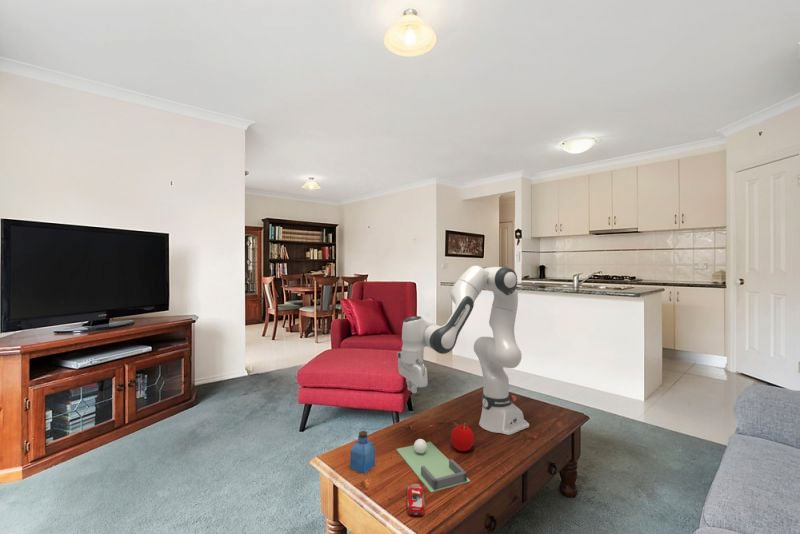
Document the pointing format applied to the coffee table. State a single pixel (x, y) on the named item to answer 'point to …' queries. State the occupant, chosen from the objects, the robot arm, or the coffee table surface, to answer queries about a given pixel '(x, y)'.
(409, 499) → the race car
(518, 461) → the coffee table surface
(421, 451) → the ball
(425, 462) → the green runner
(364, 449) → the perfume bottle
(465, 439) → the fruit
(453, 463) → the gray u-shaped frame
